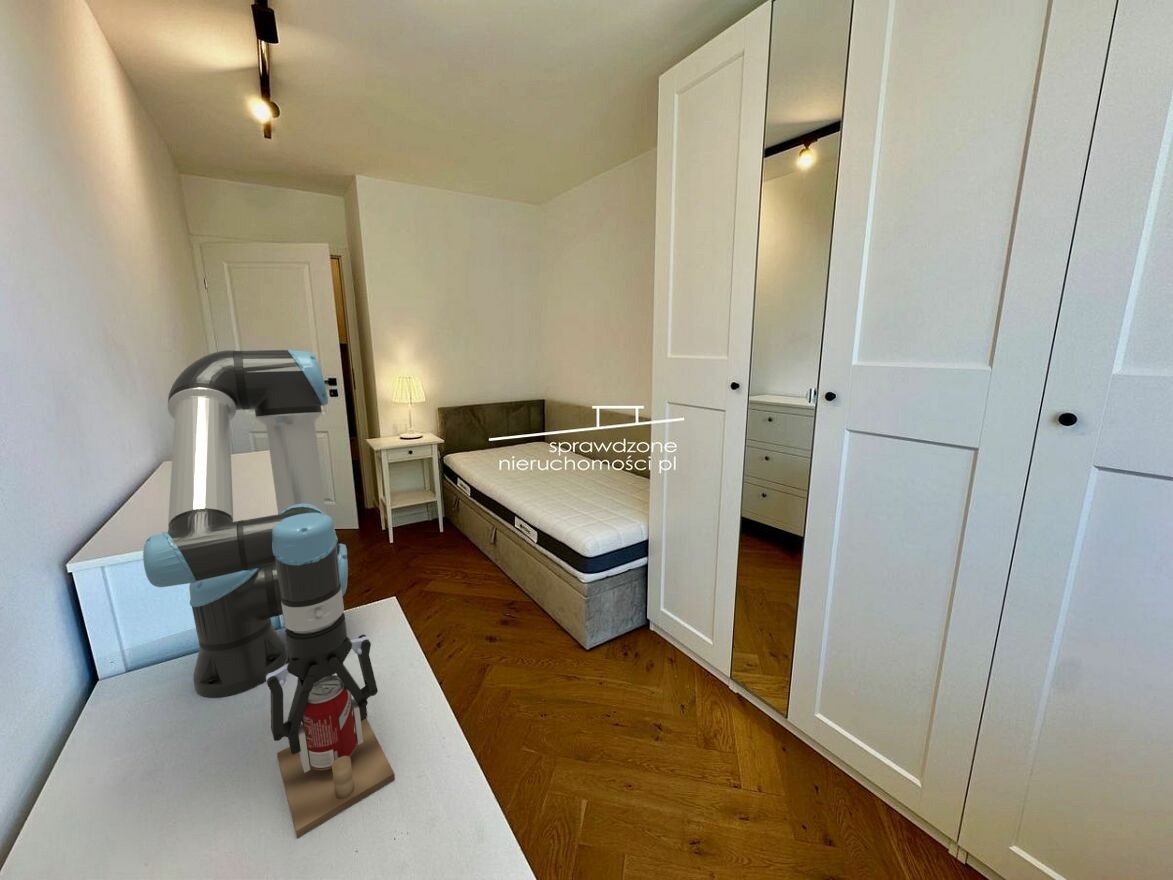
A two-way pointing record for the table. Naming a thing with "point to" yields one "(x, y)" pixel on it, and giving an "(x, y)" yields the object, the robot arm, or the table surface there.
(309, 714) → the soda can
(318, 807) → the pegboard
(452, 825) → the table surface
